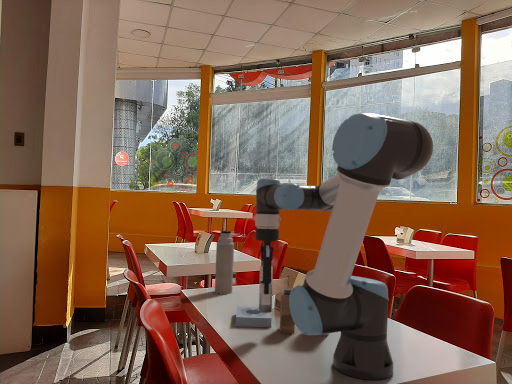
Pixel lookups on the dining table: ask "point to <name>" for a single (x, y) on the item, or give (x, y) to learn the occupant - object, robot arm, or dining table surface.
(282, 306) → the square bit
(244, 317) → the socket block
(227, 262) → the thermos bottle
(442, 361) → the dining table surface
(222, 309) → the dining table surface
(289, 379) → the dining table surface
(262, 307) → the silver slim bottle
